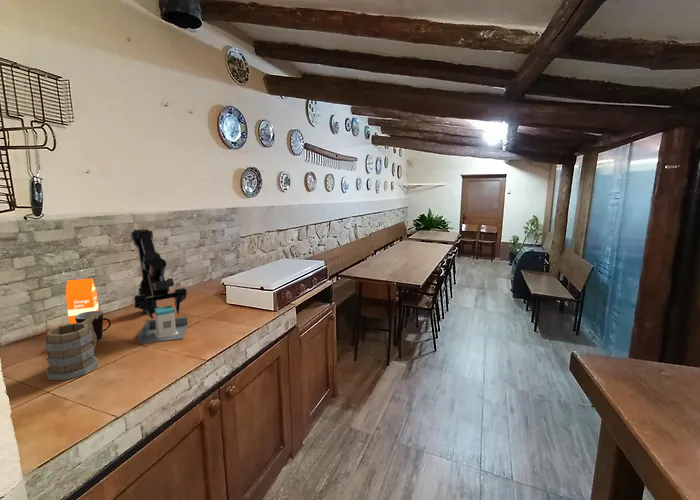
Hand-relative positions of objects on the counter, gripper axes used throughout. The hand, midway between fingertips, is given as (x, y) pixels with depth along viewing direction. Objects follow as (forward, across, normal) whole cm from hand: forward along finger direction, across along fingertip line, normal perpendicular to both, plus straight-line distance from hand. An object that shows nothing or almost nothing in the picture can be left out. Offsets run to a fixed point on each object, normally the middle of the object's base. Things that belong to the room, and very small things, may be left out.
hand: (165, 316), depth 138 cm
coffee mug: (-2, -23, +14) cm, 27 cm away
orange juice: (-16, -25, +28) cm, 41 cm away
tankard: (+12, -27, 0) cm, 30 cm away
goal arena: (+5, 0, +6) cm, 8 cm away
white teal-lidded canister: (+4, 0, +6) cm, 8 cm away
